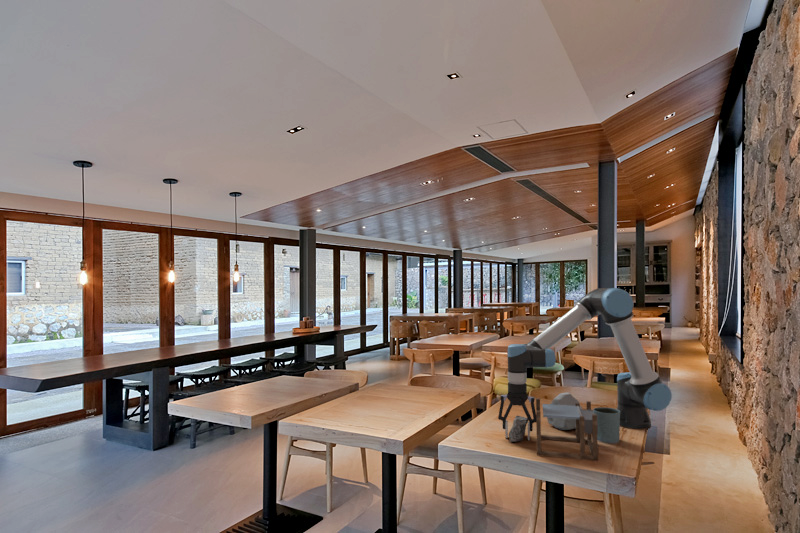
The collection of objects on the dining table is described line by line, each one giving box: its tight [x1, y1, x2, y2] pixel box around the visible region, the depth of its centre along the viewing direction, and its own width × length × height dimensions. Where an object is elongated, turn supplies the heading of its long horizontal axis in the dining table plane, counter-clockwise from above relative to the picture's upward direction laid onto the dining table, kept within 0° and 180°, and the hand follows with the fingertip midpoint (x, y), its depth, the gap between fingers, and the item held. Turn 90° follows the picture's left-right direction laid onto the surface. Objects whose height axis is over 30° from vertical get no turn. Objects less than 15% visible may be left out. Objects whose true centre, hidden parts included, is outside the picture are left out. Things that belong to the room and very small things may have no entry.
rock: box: [508, 414, 529, 443], centre depth 195 cm, size 16×8×10 cm, turn 147°
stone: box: [546, 392, 583, 431], centre depth 210 cm, size 12×12×15 cm
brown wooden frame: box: [535, 397, 599, 461], centre depth 184 cm, size 21×21×16 cm
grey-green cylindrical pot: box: [592, 406, 621, 444], centre depth 193 cm, size 10×10×12 cm
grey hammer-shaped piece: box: [542, 403, 598, 435], centre depth 183 cm, size 19×17×6 cm
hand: (517, 438), depth 195 cm, fingers open, 8 cm apart
